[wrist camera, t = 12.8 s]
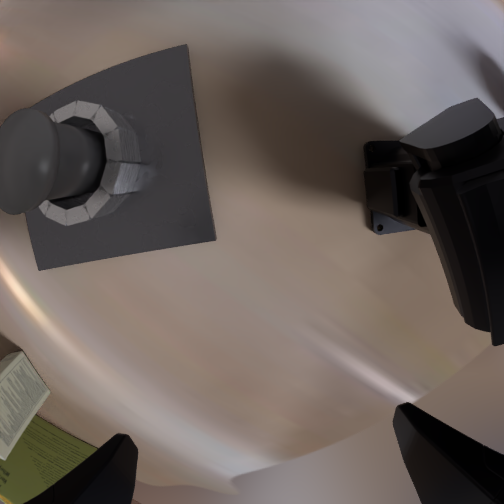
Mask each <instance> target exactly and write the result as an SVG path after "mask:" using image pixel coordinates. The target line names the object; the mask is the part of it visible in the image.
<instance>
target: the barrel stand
mask: <svg viewBox="0 0 504 504" xmlns="http://www.w3.org/2000/svg"><path fill="white" fill-rule="evenodd" d="M29 109H34V110H38V111H42V112H44V113H46V114H47V115H48V116H49V117H50V118H51V119H52V120H53V122H57V123H61V124H66V125H70V126H75V127H79V128H83V129H87V130H92V131H96V132H100V133H102V134H103V135H104V139H105V148H106V157H107V163H106V166H105V170H104V173H103V176H102V180H101V183H100V187H99V188H98V189H97V190H96V191H95V192H94V193H88V194H81V195H75V196H69V197H62V198H57V199H51V200H45V201H43V203H42V204H41V205H40V206H38V207H37V208H36V209H34V210H32V211H29V212H25V214H26V219H27V225H28V230H29V234H30V239H31V243H32V247H33V251H34V255H35V259H36V263H37V266H38V270H39V271H41V270H46V269H51V268H57V267H62V266H68V265H73V264H79V263H84V262H90V261H95V260H101V259H107V258H112V257H118V256H124V255H130V254H136V253H142V252H148V251H154V250H160V249H166V248H172V247H178V246H184V245H190V244H197V243H203V242H209V241H216V239H217V237H216V232H215V226H214V220H213V215H212V209H211V203H210V197H209V191H208V185H207V179H206V173H205V166H204V160H203V154H202V147H201V140H200V134H199V127H198V120H197V113H196V106H195V98H194V91H193V83H192V75H191V67H190V59H189V50H188V46H187V44H185V45H181V46H177V47H173V48H169V49H165V50H162V51H158V52H155V53H151V54H148V55H145V56H142V57H139V58H136V59H133V60H130V61H127V62H124V63H121V64H119V65H116V66H114V67H111V68H108V69H106V70H103V71H101V72H99V73H96V74H94V75H92V76H89V77H87V78H85V79H83V80H81V81H78V82H76V83H74V84H72V85H70V86H68V87H66V88H64V89H62V90H60V91H58V92H56V93H55V94H53V95H51V96H49V97H47V98H45V99H44V100H42V101H40V102H39V103H37V104H35V105H33V106H32V107H30V108H29Z"/></svg>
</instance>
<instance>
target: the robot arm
mask: <svg viewBox="0 0 504 504" xmlns="http://www.w3.org/2000/svg"><path fill="white" fill-rule="evenodd" d="M370 145H371V146H372V147H373V151H372V152H371V151H370V150H369V146H370ZM364 156H365V163H366V170H365V171H364V178H365V187H366V197H367V207H368V208H369V209H370V210H371V224H372V230H373V232H374V233H376V234H378V235H382V234H389V233H396V232H402V231H409V230H415V229H417V230H420V231H422V232H425V233H428V234H431V237H432V239H433V242H434V245H435V247H436V250H437V253H438V255H439V258H440V261H441V264H442V267H443V270H444V272H445V276H446V279H447V282H448V285H449V288H450V292H451V295H452V298H453V302H454V305H455V307H456V308H457V310H458V311H459V313H460V314H461V316H462V317H464V321H465V323H466V324H468V325H470V326H471V327H473V328H475V329H478V330H482V331H486V332H491V340H492V345H493V346H498V345H502V344H504V117H503V118H499V119H496V117H495V115H494V113H493V112H492V111H491V110H490V109H489V108H488V107H487V106H486V105H485V104H484V103H483V102H482V101H480V100H479V99H478V98H474V99H471V100H468V101H465V102H462V103H460V104H457V105H454V106H451V107H449V108H448V109H446V110H444V111H443V112H441V113H440V114H438V115H437V116H435V117H434V118H432V119H431V120H429V121H428V122H426V123H425V124H423V125H422V126H420V127H419V128H417V129H415V130H414V131H412V132H411V133H409V134H408V135H406V136H405V137H403V138H402V139H400V140H399V141H370V142H366V143H365V144H364ZM379 224H380V225H381V228H380V230H377V226H378V225H379ZM393 427H394V430H395V434H396V437H397V440H398V444H399V447H400V450H401V454H402V457H403V460H404V463H405V465H406V468H407V470H408V472H409V475H410V477H411V479H412V482H413V484H414V486H415V489H416V491H417V494H418V496H419V498H420V501H421V503H422V504H504V455H503V454H501V453H499V452H497V451H495V450H493V449H491V448H489V447H487V446H485V445H484V446H483V444H481V443H479V442H477V441H475V440H474V439H472V438H470V437H468V436H466V435H465V434H463V433H461V432H459V431H458V430H456V429H454V428H452V427H450V426H449V425H447V424H445V423H443V422H442V421H440V420H438V419H436V418H435V417H433V416H431V415H429V414H428V413H426V412H425V411H423V410H421V409H419V408H418V407H416V406H415V405H413V404H411V403H409V402H406V403H403V404H400V405H398V406H397V407H396V410H395V414H394V418H393ZM137 460H138V449H137V447H136V445H135V444H134V442H133V441H132V439H131V438H130V436H129V435H127V434H121V433H118V434H116V435H114V436H113V437H112V438H111V439H109V440H108V441H107V442H106V443H105V444H103V445H102V446H101V447H100V448H99V449H97V450H96V451H95V452H94V453H92V454H91V455H90V456H89V457H87V458H86V459H85V460H84V461H82V462H81V463H80V464H79V465H77V466H76V467H75V468H74V469H72V470H71V471H70V472H69V473H67V474H66V475H65V476H63V477H62V478H61V479H59V480H58V481H57V482H55V483H54V484H53V485H51V486H50V487H49V488H47V489H46V490H44V491H43V492H42V493H40V494H39V495H37V496H35V497H34V498H32V499H30V500H28V501H27V502H25V503H23V504H131V502H132V498H133V493H134V488H135V480H136V469H137Z"/></svg>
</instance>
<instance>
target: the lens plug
mask: <svg viewBox="0 0 504 504" xmlns="http://www.w3.org/2000/svg"><path fill="white" fill-rule="evenodd" d="M106 163H107V157H106V148H105V139H104V135H103V134H102V133H100V132H96V131H92V130H87V129H83V128H79V127H75V126H70V125H66V124H61V123H57V122H53V120H52V119H51V118H50V117H49V116H48V115H47V114H46V113H44V112H42V111H38V110H34V109H28V108H25V109H20V110H18V111H16V112H14V113H13V114H11V115H10V116H9V117H8V118H7V119H6V120H5V121H4V123H3V124H2V125H1V127H0V208H1V209H2V210H3V211H4V212H6V213H8V214H13V215H16V214H21V213H25V212H29V211H32V210H34V209H36V208H37V207H38V206H40V205H41V204H42V203H43V201H45V200H51V199H57V198H62V197H69V196H75V195H81V194H88V193H94V192H95V191H96V190H97V189H98V188H99V187H100V183H101V180H102V176H103V173H104V170H105V166H106Z"/></svg>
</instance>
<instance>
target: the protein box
mask: <svg viewBox="0 0 504 504" xmlns="http://www.w3.org/2000/svg"><path fill="white" fill-rule="evenodd" d="M96 450H97V448H95V447H93V446H91V445H89V444H87V443H85V442H83V441H81V440H79V439H77V438H75V437H73V436H71V435H69V434H67V433H66V432H64V431H62V430H60V429H58V428H57V427H55V426H53V425H51V424H50V423H48V422H46V421H45V420H43V419H42V418H40V417H38V416H37V415H34V417H33V418H32V420H31V421H30V423H29V424H28V426H27V427H26V429H25V430H24V432H23V433H22V435H21V436H20V438H19V439H18V441H17V443H16V444H15V446H14V447H13V449H12V450H11V452H10V454H9V455H8V457H7V459H6V460H3V459H1V458H0V500H1V501H3V502H4V503H5V504H23V503H25V502H27V501H28V500H30V499H32V498H34V497H35V496H37V495H39V494H40V493H42V492H43V491H44V490H46V489H47V488H49V487H50V486H51V485H53V484H54V483H55V482H57V481H58V480H59V479H61V478H62V477H63V476H65V475H66V474H67V473H69V472H70V471H71V470H72V469H74V468H75V467H76V466H77V465H79V464H80V463H81V462H82V461H84V460H85V459H86V458H87V457H89V456H90V455H91V454H92V453H94V452H95V451H96Z"/></svg>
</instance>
